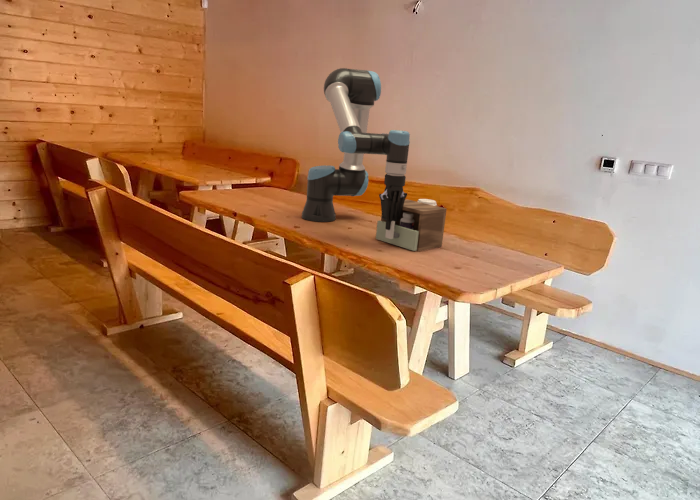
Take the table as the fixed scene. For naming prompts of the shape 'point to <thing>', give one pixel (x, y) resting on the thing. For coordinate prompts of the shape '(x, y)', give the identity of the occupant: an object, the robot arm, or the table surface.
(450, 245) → the table surface
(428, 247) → the housing
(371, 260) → the table surface
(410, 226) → the pill bottle
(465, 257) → the table surface
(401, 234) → the drawer
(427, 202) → the coffee cup
